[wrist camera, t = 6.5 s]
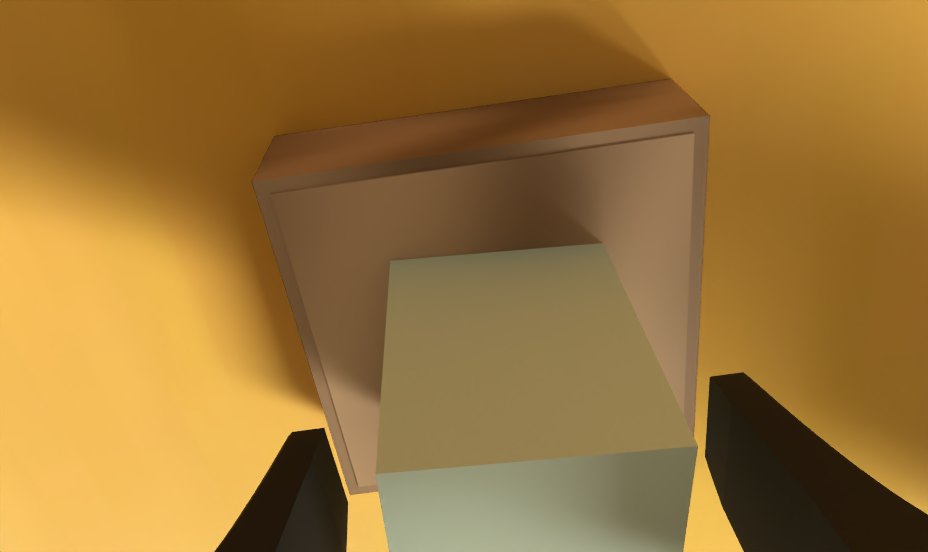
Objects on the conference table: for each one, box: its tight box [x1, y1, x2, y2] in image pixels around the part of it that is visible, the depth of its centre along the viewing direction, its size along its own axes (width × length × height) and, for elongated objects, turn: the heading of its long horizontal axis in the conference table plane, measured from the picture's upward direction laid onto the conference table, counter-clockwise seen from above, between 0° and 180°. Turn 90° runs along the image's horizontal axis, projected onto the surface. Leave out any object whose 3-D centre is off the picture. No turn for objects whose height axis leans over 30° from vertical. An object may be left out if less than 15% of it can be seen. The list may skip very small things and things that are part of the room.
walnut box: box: [252, 79, 710, 495], centre depth 18 cm, size 9×9×3 cm
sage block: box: [375, 243, 698, 552], centre depth 14 cm, size 4×4×6 cm
